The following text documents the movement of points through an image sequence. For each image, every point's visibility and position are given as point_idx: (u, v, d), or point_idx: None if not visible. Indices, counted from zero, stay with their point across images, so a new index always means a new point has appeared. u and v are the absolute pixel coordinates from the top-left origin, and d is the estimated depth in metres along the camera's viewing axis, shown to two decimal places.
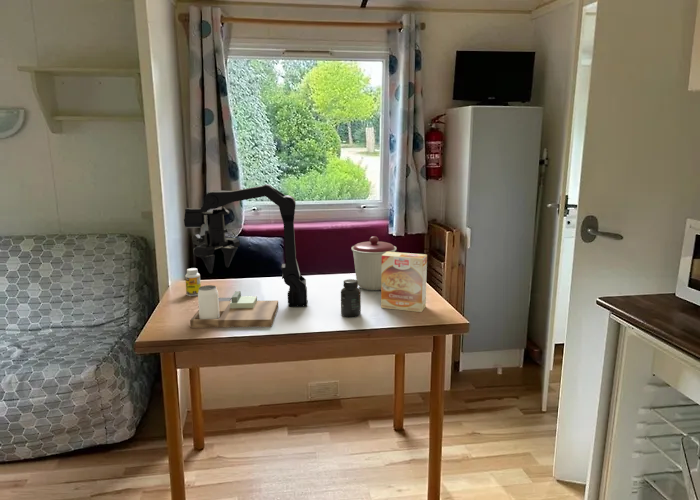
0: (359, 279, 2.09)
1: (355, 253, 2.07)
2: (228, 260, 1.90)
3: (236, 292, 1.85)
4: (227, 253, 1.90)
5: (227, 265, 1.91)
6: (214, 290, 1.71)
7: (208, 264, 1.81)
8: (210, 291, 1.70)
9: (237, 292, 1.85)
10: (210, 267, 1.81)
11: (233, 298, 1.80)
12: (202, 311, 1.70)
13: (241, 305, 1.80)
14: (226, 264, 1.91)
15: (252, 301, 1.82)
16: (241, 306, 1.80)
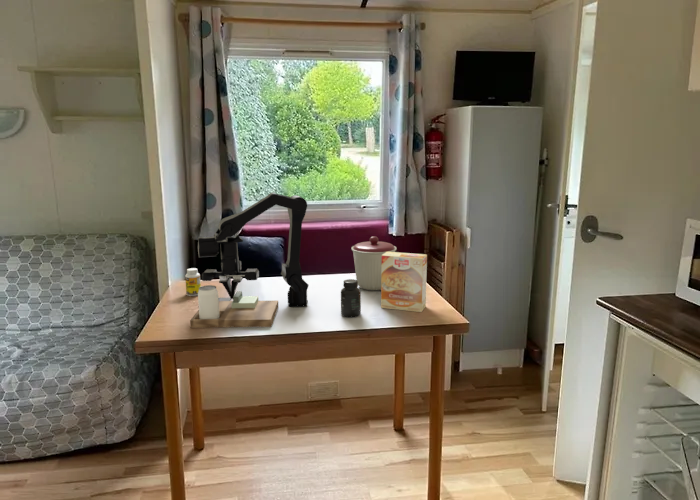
0: (359, 279, 2.09)
1: (355, 253, 2.07)
2: None
3: (237, 292, 1.85)
4: None
5: None
6: (214, 290, 1.71)
7: None
8: (210, 291, 1.70)
9: (238, 292, 1.85)
10: None
11: (235, 298, 1.80)
12: (202, 311, 1.70)
13: (243, 305, 1.80)
14: None
15: (254, 301, 1.82)
16: (243, 306, 1.80)
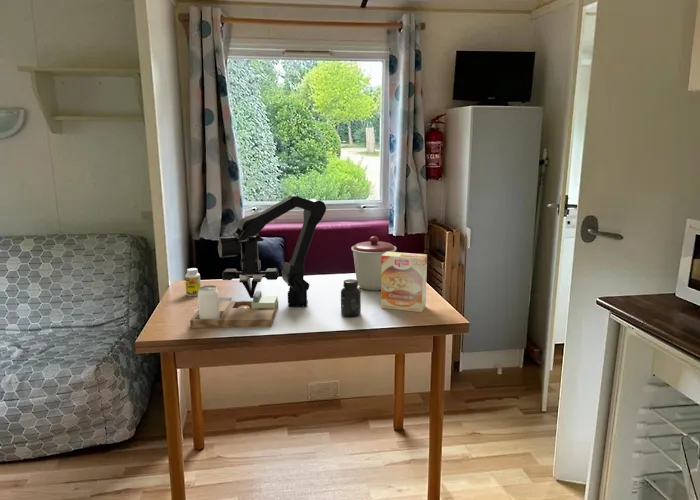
0: (359, 279, 2.09)
1: (355, 253, 2.07)
2: None
3: (257, 292, 1.86)
4: None
5: None
6: (214, 290, 1.71)
7: None
8: (210, 291, 1.70)
9: (258, 292, 1.86)
10: None
11: (254, 298, 1.80)
12: (202, 311, 1.70)
13: (263, 304, 1.80)
14: None
15: (273, 301, 1.82)
16: (262, 306, 1.80)
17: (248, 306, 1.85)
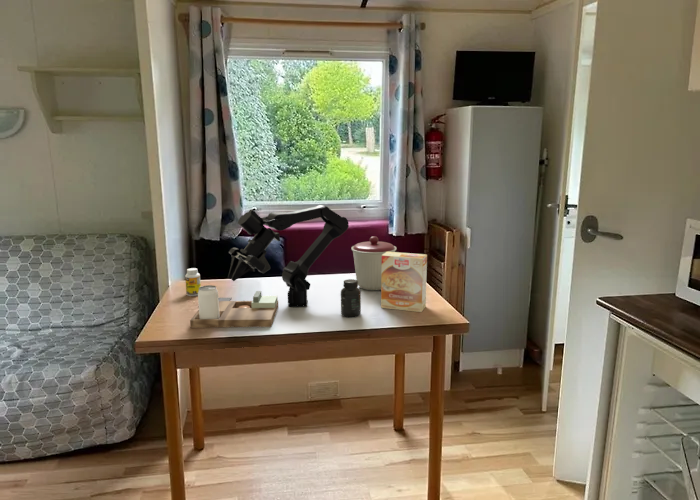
0: (359, 279, 2.09)
1: (355, 253, 2.07)
2: None
3: (257, 292, 1.86)
4: None
5: None
6: (214, 290, 1.71)
7: None
8: (210, 291, 1.70)
9: (258, 292, 1.86)
10: None
11: (254, 298, 1.80)
12: (202, 311, 1.70)
13: (263, 304, 1.80)
14: None
15: (273, 301, 1.82)
16: (262, 306, 1.80)
17: (248, 306, 1.85)
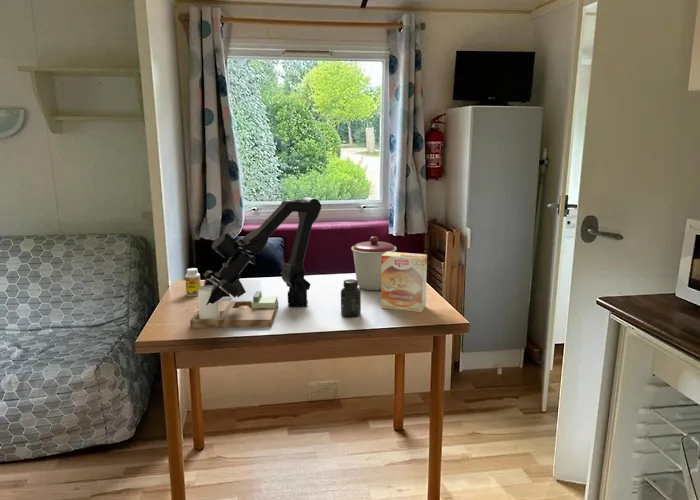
0: (359, 279, 2.09)
1: (355, 253, 2.07)
2: None
3: (257, 292, 1.86)
4: None
5: None
6: None
7: None
8: (210, 291, 1.69)
9: (258, 292, 1.86)
10: None
11: (254, 298, 1.80)
12: (202, 311, 1.70)
13: (263, 304, 1.80)
14: None
15: (273, 301, 1.82)
16: (262, 306, 1.80)
17: (248, 306, 1.85)
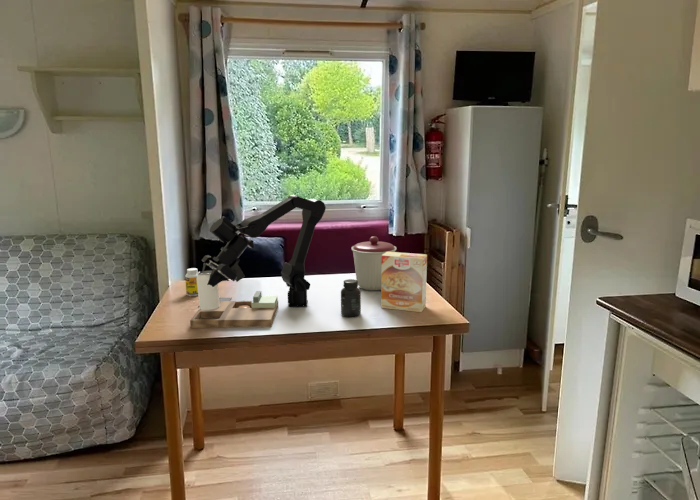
0: (359, 279, 2.09)
1: (355, 253, 2.07)
2: None
3: (257, 292, 1.86)
4: None
5: None
6: None
7: None
8: (209, 275, 1.68)
9: (258, 292, 1.86)
10: None
11: (254, 298, 1.80)
12: (201, 296, 1.69)
13: (263, 304, 1.80)
14: None
15: (273, 301, 1.82)
16: (262, 306, 1.80)
17: (248, 306, 1.85)
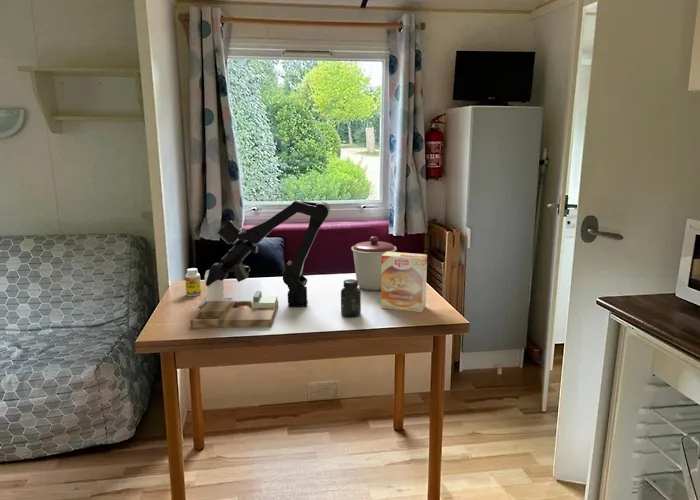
0: (359, 279, 2.09)
1: (355, 253, 2.07)
2: None
3: (257, 292, 1.86)
4: None
5: None
6: None
7: None
8: None
9: (258, 292, 1.86)
10: None
11: (254, 298, 1.80)
12: None
13: (263, 304, 1.80)
14: None
15: (273, 301, 1.82)
16: (262, 306, 1.80)
17: (248, 306, 1.85)
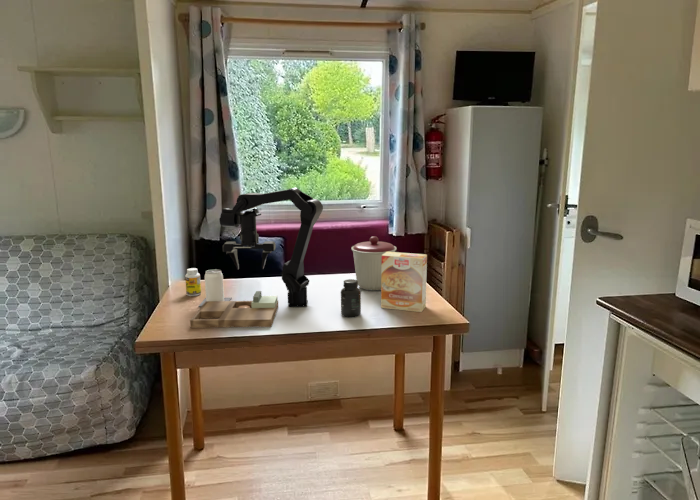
0: (359, 279, 2.09)
1: (355, 253, 2.07)
2: (262, 262, 1.94)
3: (257, 292, 1.86)
4: None
5: (262, 267, 1.95)
6: (215, 274, 1.89)
7: None
8: (210, 274, 1.89)
9: (258, 292, 1.86)
10: None
11: (254, 298, 1.80)
12: None
13: (263, 304, 1.80)
14: (262, 266, 1.95)
15: (273, 301, 1.82)
16: (262, 306, 1.80)
17: (248, 306, 1.85)
